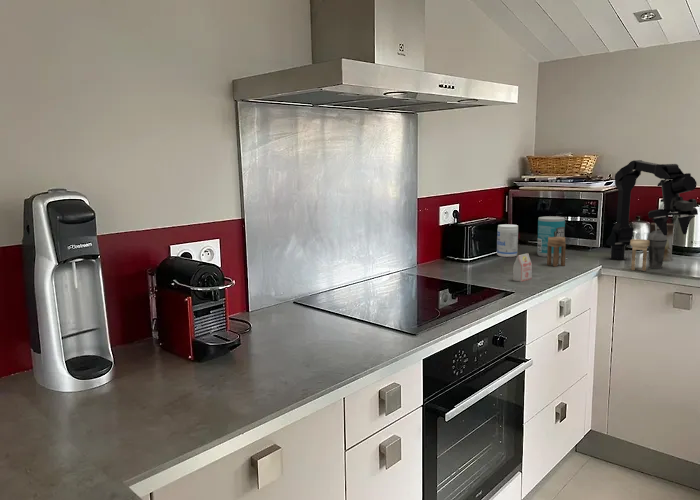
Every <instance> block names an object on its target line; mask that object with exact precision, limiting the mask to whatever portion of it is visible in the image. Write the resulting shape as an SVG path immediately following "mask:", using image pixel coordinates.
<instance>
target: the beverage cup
mask: <svg viewBox="0 0 700 500" xmlns="http://www.w3.org/2000/svg"><path fill="white" fill-rule="evenodd" d="M654 223H655V222H654ZM646 240H649V241H650V245H649V246H648V253H649V260H648V264H649V268H650V269H656V270H658V269H662V267H663V263H664V261H663V257H664V251H665V246H666V243H667V237H666V236H664V234H663V233H662V231H659V230H657V225H656V223H655V231H653V232H651V233H650V232H649V234H648V237H647V239H646Z"/></svg>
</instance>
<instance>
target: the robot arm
mask: <svg viewBox="0 0 700 500" xmlns="http://www.w3.org/2000/svg"><path fill="white" fill-rule="evenodd" d="M642 172H644V173H647V174H648V173H649V174H653V175H654V176H655V177H656V178H658V179H660V181H659V182H658V184H657V185H656V186H657V187H661V191H662V193H661V194H662V198H660V203H662V204H663V208H662V209H660V208H659V209H654V210H653V209H652V210H649V212H648V219H650V220H651V221H653V223H656V224H657V226H658V227H659V229H660V230H661V231H662V233H663V234H664V236H666V235H667V221H668V219H669V216H678V217H677V220H678V223H679V226H680V229H681V232H682V235H687V233H688V229H689V226H690V223H691V220H693V218H695V217H696V216H698V215H699V212H698V209H697V206H698V205H697V204H698V202H697V199H695V198H689V199H688V200H684V198H683V196H680V194H683V193H687V192H692V191H694V190H696V188H697V184H698V183H697V180H695V178H694V177H693V176H692V174H691V173H690V172H688V173H687V172H686V173H684V172H683V171H682V170H681V168H680V166H679V165H678V164H677V163H662V164H661V163H655V162H649V161H644V160H642V159H641V160H640V159H639V160H638V159H637V160H635V159H634V160H631V161H629V162H628V163H627V165H624V166H623V167H621V168H620V169H619V170H618V171H617V172H616V173H615V174H614V185H615V187H616V188H617V190H618V191H617V192H618V193H617V194H618V195H617V207H616V209H617V210H616V222H615V224H614V225H613V227H612V229H611V234H610V235H609V236H608V237H607V239H606V240H605V243H606V245H607V246H610V255H609V260H621V261H622V260H623V261H625V260H626V259H627V258H626V255H625V254H626V253H625V252H626V246H631V245H630V240H632V239H633V237H634V227H632V226H631V225H630V210H631V209H630V208H631V198H632V197H631V196H632V190H633V189H634V188H635V186H636V183H637V179H638V178H639V177H640V176H641V174H642Z"/></svg>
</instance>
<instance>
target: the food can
mask: <svg viewBox="0 0 700 500" xmlns="http://www.w3.org/2000/svg"><path fill="white" fill-rule="evenodd" d="M565 230H566V218H565V217H563V216H557V215H556V216H553V215H552V216H551V215H549V216H546V215H545V216H539V217H538V219H537V247H536V249H537V252H536V253H537V256H539V257H544V258H547V248H548V237H564V238H565V232H566V231H565ZM553 253H554V247H552V251H551V258H553ZM559 258H561V247H559Z"/></svg>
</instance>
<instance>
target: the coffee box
mask: <svg viewBox="0 0 700 500" xmlns="http://www.w3.org/2000/svg"><path fill="white" fill-rule="evenodd" d="M656 225H657V224H656ZM649 227H650V231H649V234H650V233H651V232H653V231H655V222H651V223H650V226H649ZM674 229H675V223H669V222H668V223H667V235H666V237H667V243H666V246H665V251H664V257H663V262H671V261H672V255H673V254H672V253H673V240H674V231H675V230H674ZM657 230H659V231H661V230H660V229H659V227H658V226H657ZM647 254H648V255H647V260H648V261H649V252H647Z"/></svg>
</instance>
